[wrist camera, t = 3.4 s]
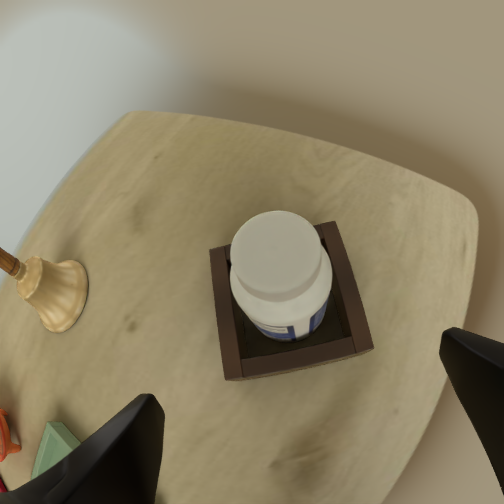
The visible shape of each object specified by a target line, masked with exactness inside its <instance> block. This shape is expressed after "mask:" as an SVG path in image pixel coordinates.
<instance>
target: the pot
mask: <svg viewBox="0 0 504 504" xmlns="http://www.w3.org/2000/svg"><path fill="white" fill-rule="evenodd" d="M4 415H5V416H7V415H8V414H7V413H6V411H4V410H3V409H1V408H0V462H2V461H3V460H4V459H5V458H6V456H7V454H9V453H16V452H19V451H21V446H20V445H17V444H14V443H12V442H11V440H10V432H9V428H8V425H7V423H6V420H5V418H4V417H3V416H4Z"/></svg>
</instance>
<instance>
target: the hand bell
mask: <svg viewBox="0 0 504 504" xmlns="http://www.w3.org/2000/svg"><path fill="white" fill-rule="evenodd" d="M0 268H2V269H3V270H4V271H6V272H7V273H8V274H10V275H11V276H13V277H14V278H15V279H16V280H17V291H18V294H19V296H20V297H21V298H22V299H24V300H25V301H27V302H28V303H29V304H31V305H32V306H33V307H34V308H35V309H36V310H37V311H38V313H39V316H40V319H41V321H42V323H43V324H44V326H45V327H46V328H47V329H48V330H50V331H51V332H55V333H59V332H63V331H66V330H67V329H69V328H70V327H71V326H72V325H73V324H74V323H75V322H76V320H77V319H78V317H79V316H80V314H81V312H82V310H83V307H84V304H85V301H86V297H87V290H88V280H87V275H86V272H85V270H84V268H83V266H82V265H81V264H80V263H78V262H77V261H72V260H67V261H63V262H60V263H59V264H55V263H51V262H48V261H45V260H43V259H41V258H39V257H31V258H29V259H28V260H27V261H26V262H25V263H22V262H20V261H19V260H18V259H17V258H14V257H13V256H12V255H10V254H9V253H7V252H6V251H4V250H3V249H2V248H0Z"/></svg>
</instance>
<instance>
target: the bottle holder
mask: <svg viewBox="0 0 504 504" xmlns="http://www.w3.org/2000/svg"><path fill="white" fill-rule="evenodd" d="M313 227H314V228H315V230H316V232H317V233H318V236H319V238H320V242H321V245H322V246H323V248H324V249H325V251H326V253H327V254H328V257H329V259H330V262H331V267H332V285H331V288H332V292H333V295H334V299H335V303H336V307H337V311H338V314H339V318H340V322H341V326H342V330H343V335H344V338H341V339H337V340H333V341H330V342H325V343H321V344H317V345H313V346H309V347H304V348H300V349H295V350H290V351H286V352H281V353H276V354H270V355H265V356H259V357H254V358H248V352H247V345H246V339H245V333H244V326H243V320H242V313H241V307H240V306H239V305H238V303H237V301H236V299H235V297H234V295H233V292H232V289H231V284H230V272H231V266H232V264H231V258H230V251H231V245H232V244H229V245H225V246H221V247H217V248H213V249H210V250H209V252H210V262H211V272H212V282H213V291H214V300H215V309H216V317H217V325H218V333H219V341H220V349H221V356H222V363H223V370H224V377H225V380H226V381H242V380H249V379H255V378H261V377H267V376H273V375H278V374H284V373H289V372H294V371H298V370H303V369H308V368H312V367H316V366H321V365H325V364H329V363H333V362H337V361H341V360H344V359H348V358H352V357H355V356H359V355H362V354H365V353H367V352H369V351H370V350H372V349H374V346H373V342H372V338H371V334H370V330H369V326H368V323H367V319H366V315H365V312H364V308H363V305H362V301H361V298H360V294H359V291H358V288H357V284H356V281H355V278H354V275H353V271H352V268H351V265H350V262H349V259H348V256H347V253H346V250H345V247H344V244H343V241H342V238H341V236H340V233H339V230H338V227H337V224H336V222H335V221H332V222H327V223H323V224H320V225H319V224H318V225H314V226H313Z"/></svg>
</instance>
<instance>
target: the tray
mask: <svg viewBox="0 0 504 504" xmlns="http://www.w3.org/2000/svg"><path fill="white" fill-rule="evenodd" d="M80 444H81V443H80V441H79V440H78V439H77V438H76V437H75V436H74V435H73V434H72V433H71V432H70V431H69V430H68V429H67V428H66V427H65V425H64V424H63V423H62V422H47V425H46V428H45V431H44V434H43V437H42V440H41V443H40V446H39V450H38V453H37V457H36V460H35V464H34V468H33V472H32V476H31V480H32V479H34V478H36V477H37V476H39V475H40V474H42V473H43V472H45V471H46V470H48V469H49V468H51V467H52V466H53V465H55V464H56V463H57V462H59V461H60V460H61V459H63V458H64V457H65V456H67V455H68V454H69V453H70V452H71V451H73V450H74V449H75V448H76V447H78V446H79V445H80ZM31 480H30V481H31Z"/></svg>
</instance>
